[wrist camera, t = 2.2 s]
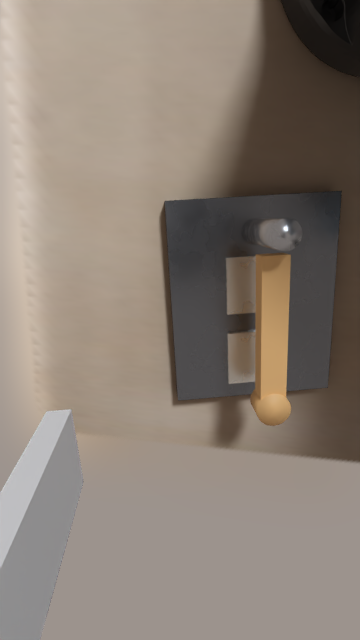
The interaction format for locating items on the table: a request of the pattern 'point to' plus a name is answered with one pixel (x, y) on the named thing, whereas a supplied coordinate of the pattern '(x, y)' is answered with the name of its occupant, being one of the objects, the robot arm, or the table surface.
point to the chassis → (249, 287)
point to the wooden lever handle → (271, 338)
